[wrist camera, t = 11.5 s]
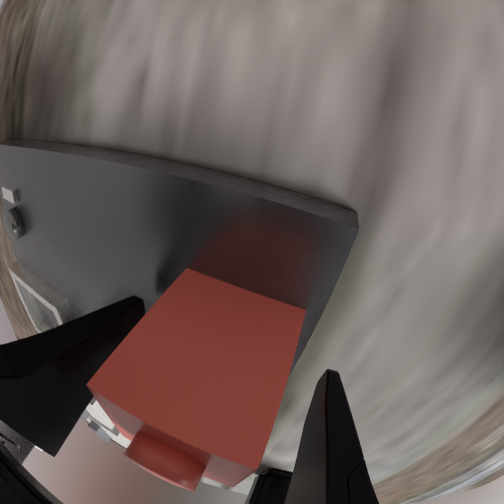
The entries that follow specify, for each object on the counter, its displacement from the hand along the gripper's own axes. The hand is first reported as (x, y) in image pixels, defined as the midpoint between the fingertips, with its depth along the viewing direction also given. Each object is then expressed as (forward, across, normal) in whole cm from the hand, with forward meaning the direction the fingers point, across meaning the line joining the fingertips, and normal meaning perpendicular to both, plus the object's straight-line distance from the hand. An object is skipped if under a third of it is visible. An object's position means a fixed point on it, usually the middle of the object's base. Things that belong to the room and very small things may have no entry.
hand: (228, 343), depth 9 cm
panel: (+2, +8, +5) cm, 9 cm away
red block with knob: (+1, 0, 0) cm, 1 cm away
